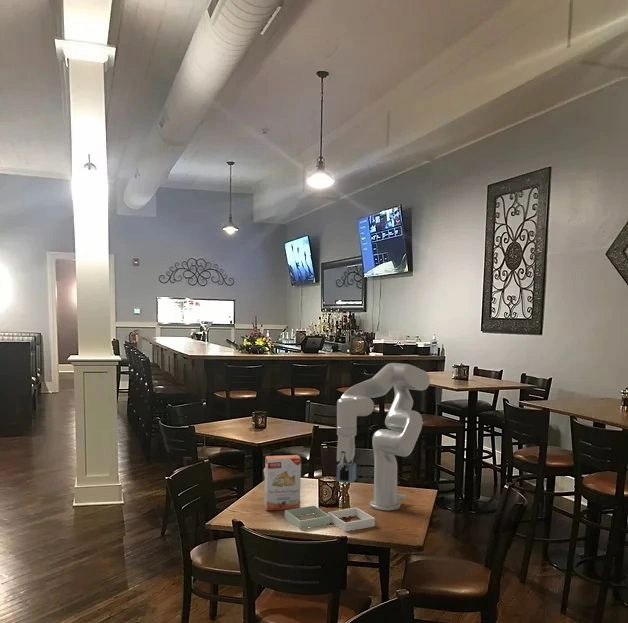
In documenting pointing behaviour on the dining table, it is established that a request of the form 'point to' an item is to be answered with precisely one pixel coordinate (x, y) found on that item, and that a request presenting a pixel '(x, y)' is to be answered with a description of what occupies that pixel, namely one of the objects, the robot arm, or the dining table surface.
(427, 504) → the dining table surface
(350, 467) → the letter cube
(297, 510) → the sage square tray
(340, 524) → the white square tray
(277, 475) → the cracker box
